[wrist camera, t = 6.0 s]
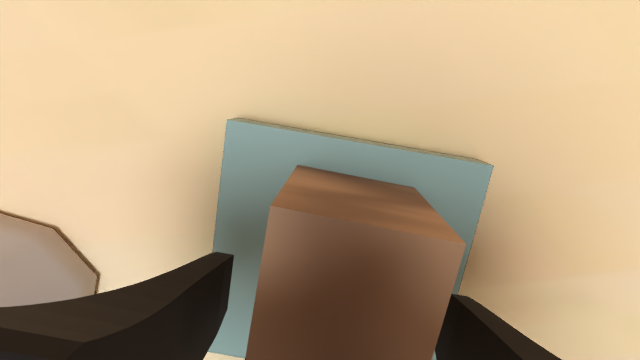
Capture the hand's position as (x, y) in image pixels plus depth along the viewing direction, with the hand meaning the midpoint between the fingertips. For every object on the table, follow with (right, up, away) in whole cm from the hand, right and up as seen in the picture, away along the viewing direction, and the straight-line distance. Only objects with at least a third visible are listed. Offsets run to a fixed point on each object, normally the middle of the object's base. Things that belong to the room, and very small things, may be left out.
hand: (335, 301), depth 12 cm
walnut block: (0, +2, +2) cm, 3 cm away
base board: (0, +1, +4) cm, 4 cm away
